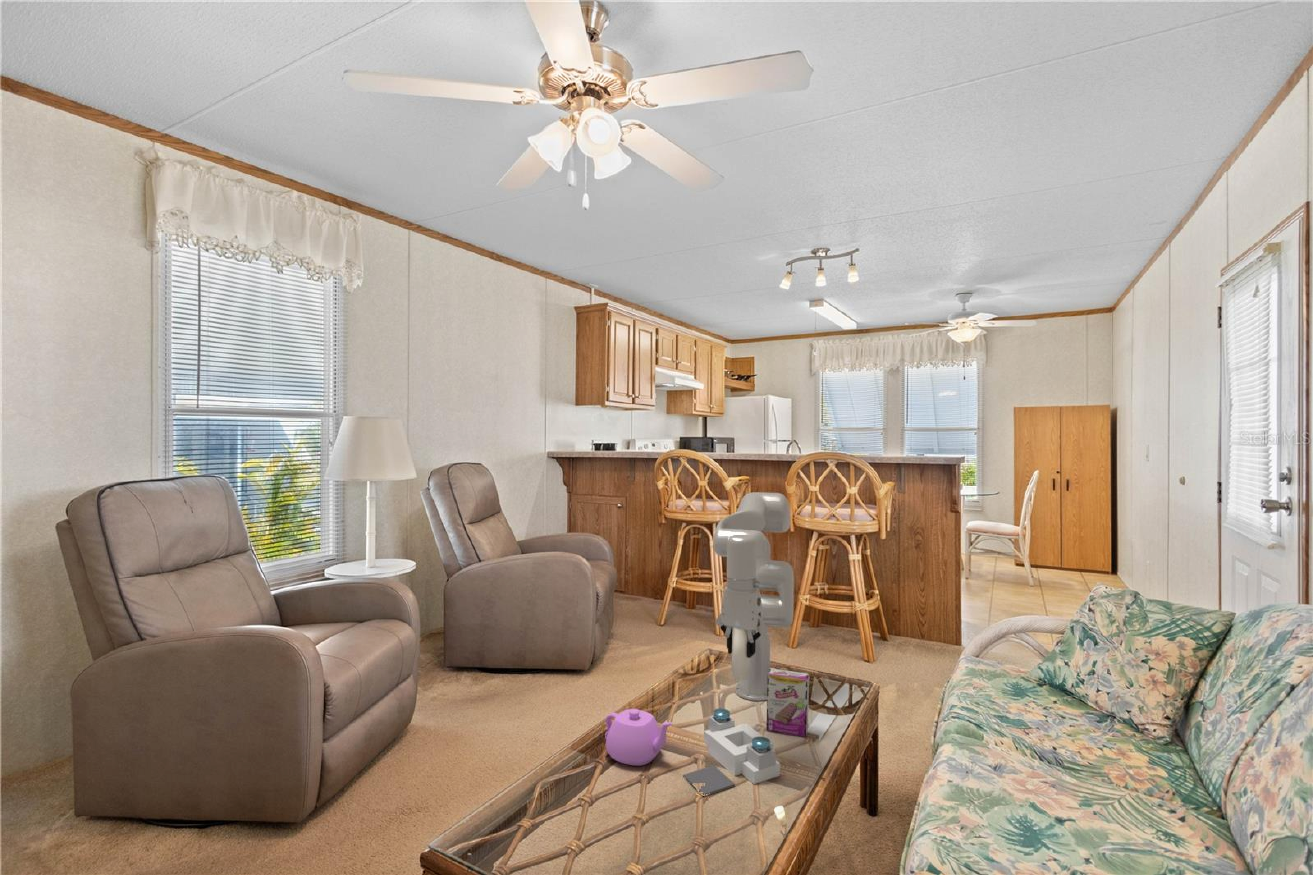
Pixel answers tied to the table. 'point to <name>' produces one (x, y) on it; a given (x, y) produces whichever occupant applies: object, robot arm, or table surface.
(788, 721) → the candy bar box
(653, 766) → the table surface
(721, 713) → the plunger
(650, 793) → the table surface
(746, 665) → the cylinder
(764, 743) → the plunger
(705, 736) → the housing
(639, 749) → the teapot
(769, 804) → the table surface
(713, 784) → the mat
